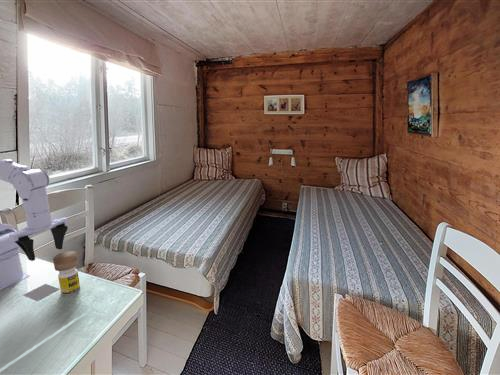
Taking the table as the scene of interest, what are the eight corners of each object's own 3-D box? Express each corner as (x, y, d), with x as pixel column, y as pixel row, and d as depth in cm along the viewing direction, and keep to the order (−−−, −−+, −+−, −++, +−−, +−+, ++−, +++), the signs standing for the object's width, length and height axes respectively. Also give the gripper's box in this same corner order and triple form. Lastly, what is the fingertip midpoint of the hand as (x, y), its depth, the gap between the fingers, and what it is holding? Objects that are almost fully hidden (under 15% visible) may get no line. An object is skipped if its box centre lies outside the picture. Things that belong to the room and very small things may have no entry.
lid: (50, 268, 75) (48, 258, 75) (69, 259, 80) (67, 250, 80) (63, 272, 73) (61, 262, 73) (82, 263, 78) (80, 253, 78)
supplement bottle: (71, 297, 76) (66, 271, 74) (57, 295, 77) (52, 269, 75) (84, 287, 81) (80, 262, 79) (71, 285, 82) (66, 261, 80)
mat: (23, 296, 77) (22, 294, 76) (45, 285, 82) (45, 283, 82) (38, 302, 74) (37, 300, 74) (60, 290, 79) (59, 289, 79)
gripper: (15, 221, 69) (26, 268, 72) (71, 205, 82) (78, 246, 85) (0, 217, 71) (11, 263, 75) (56, 203, 84) (64, 242, 88)
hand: (46, 254), depth 80 cm, fingers open, 7 cm apart
